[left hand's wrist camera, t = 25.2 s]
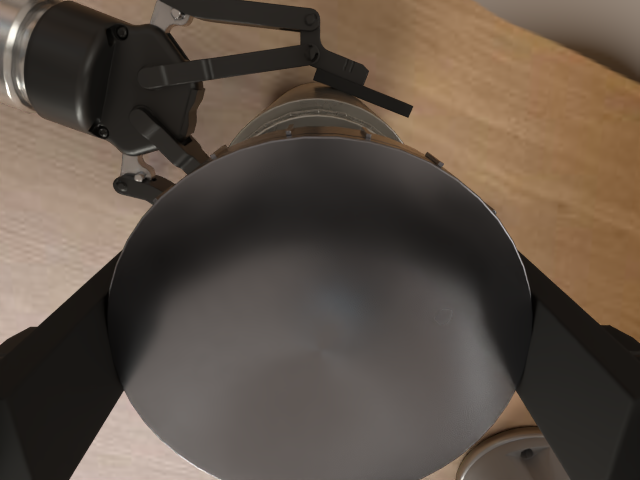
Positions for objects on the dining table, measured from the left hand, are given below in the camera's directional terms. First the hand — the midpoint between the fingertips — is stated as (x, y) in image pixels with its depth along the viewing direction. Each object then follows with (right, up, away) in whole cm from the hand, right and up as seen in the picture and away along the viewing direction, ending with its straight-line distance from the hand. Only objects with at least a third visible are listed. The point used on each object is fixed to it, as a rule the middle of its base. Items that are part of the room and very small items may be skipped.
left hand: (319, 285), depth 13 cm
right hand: (+4, +6, +17) cm, 19 cm away
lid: (0, -1, -3) cm, 3 cm away
